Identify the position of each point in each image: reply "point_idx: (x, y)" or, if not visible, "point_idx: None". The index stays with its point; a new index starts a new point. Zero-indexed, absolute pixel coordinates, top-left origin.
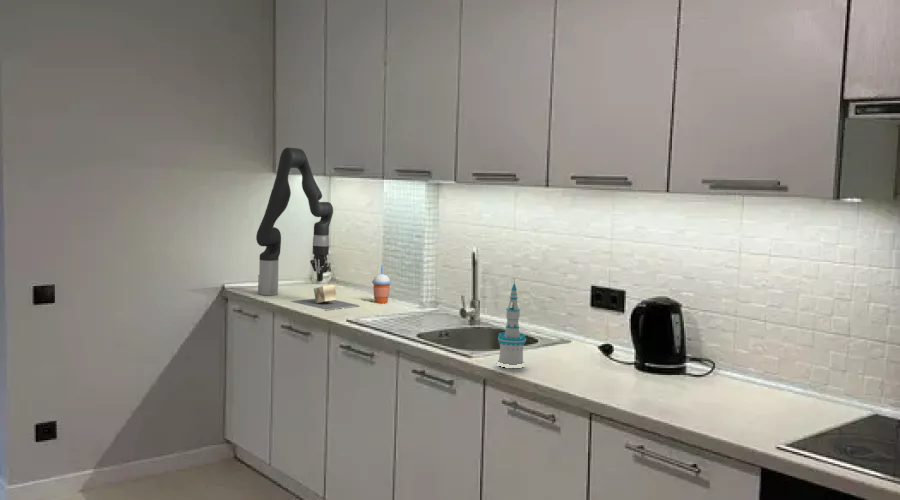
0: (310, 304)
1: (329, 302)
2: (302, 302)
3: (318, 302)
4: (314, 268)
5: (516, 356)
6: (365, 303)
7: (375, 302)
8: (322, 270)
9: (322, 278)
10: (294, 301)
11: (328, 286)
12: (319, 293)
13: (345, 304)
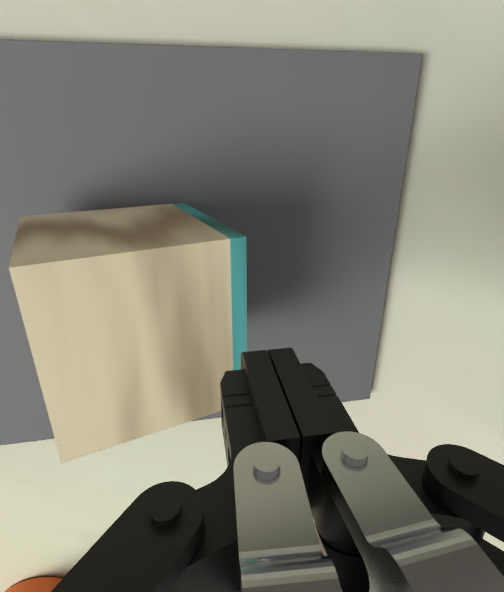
0: (152, 111)
1: None
2: (295, 120)
3: (143, 206)
4: (496, 504)
5: None
6: (55, 525)
7: (44, 578)
8: (111, 556)
9: (222, 427)
10: (385, 88)
11: (36, 364)
12: (117, 229)
13: (7, 384)
